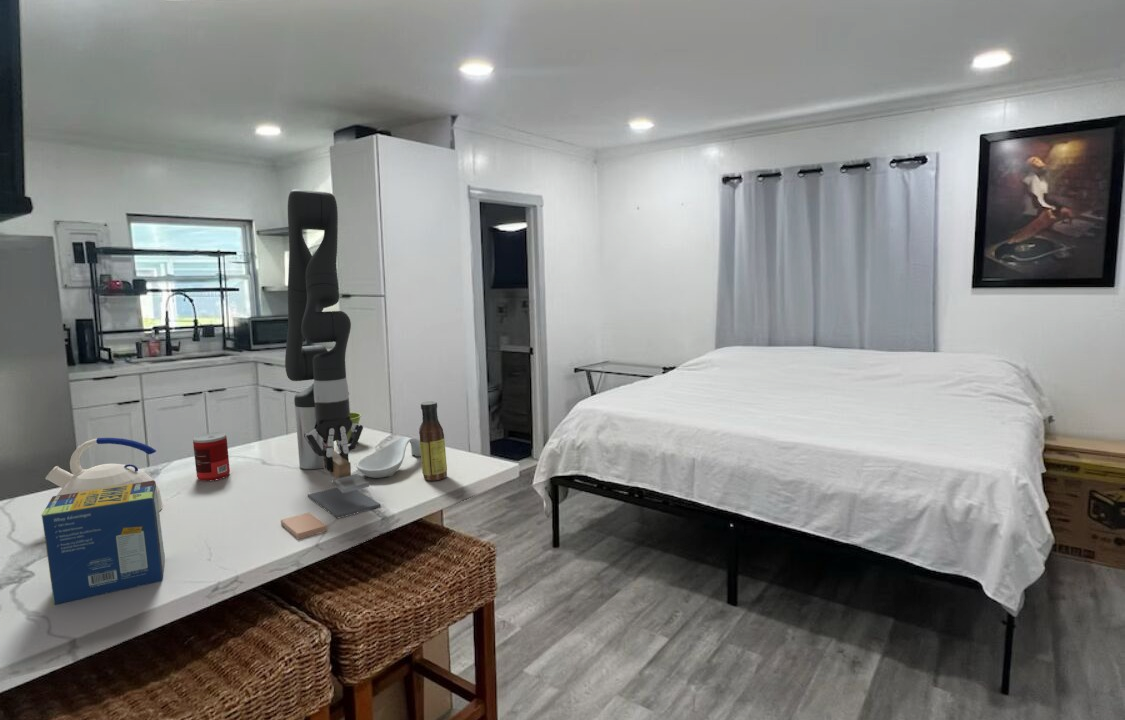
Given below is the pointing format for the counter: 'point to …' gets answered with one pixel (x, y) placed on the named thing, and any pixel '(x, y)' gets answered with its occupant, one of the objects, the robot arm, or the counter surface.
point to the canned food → (211, 456)
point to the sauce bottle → (432, 444)
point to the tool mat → (343, 501)
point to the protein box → (103, 541)
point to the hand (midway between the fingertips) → (336, 469)
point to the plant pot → (355, 419)
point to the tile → (303, 525)
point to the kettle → (100, 471)
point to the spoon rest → (388, 458)
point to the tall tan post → (345, 475)
